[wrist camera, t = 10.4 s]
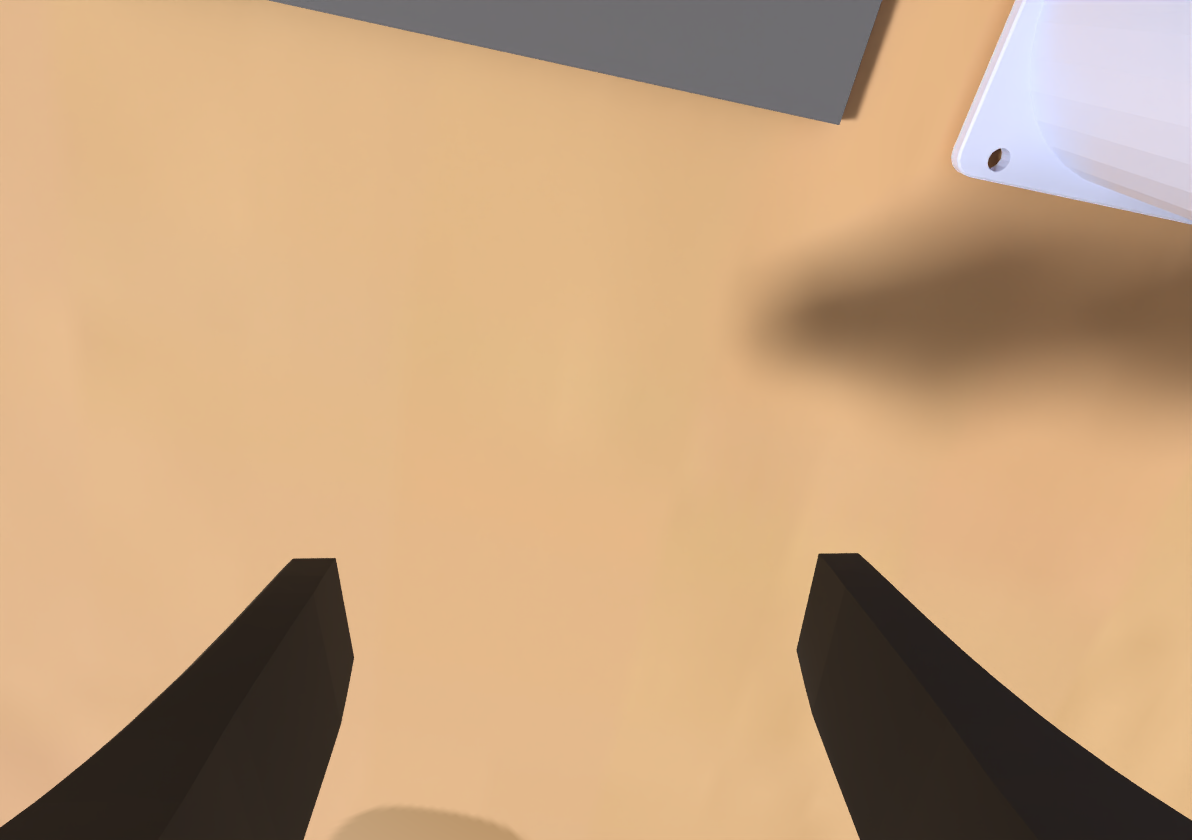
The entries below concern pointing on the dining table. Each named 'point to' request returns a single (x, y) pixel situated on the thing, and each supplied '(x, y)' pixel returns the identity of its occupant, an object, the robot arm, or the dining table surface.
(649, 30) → the mat
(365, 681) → the dining table surface
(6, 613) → the dining table surface
